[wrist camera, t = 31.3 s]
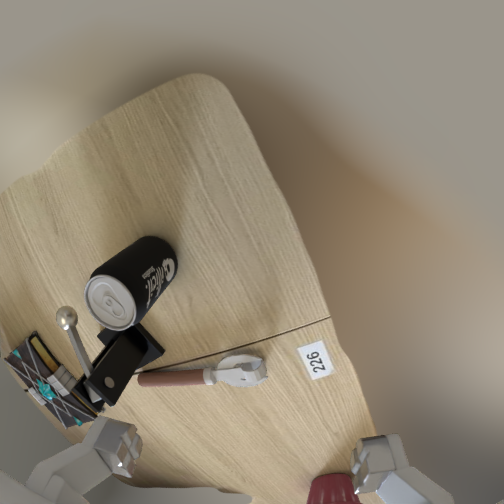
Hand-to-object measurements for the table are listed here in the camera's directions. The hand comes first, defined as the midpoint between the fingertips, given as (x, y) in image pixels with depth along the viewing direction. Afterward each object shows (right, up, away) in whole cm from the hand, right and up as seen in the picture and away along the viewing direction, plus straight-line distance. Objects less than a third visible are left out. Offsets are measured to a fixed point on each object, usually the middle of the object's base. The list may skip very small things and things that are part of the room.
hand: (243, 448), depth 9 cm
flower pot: (+18, -46, +42) cm, 65 cm away
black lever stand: (-18, -7, +32) cm, 37 cm away
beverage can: (-12, +6, +27) cm, 30 cm away
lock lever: (-21, -6, +24) cm, 32 cm away
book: (-41, -20, +39) cm, 60 cm away
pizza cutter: (-7, -11, +33) cm, 35 cm away
